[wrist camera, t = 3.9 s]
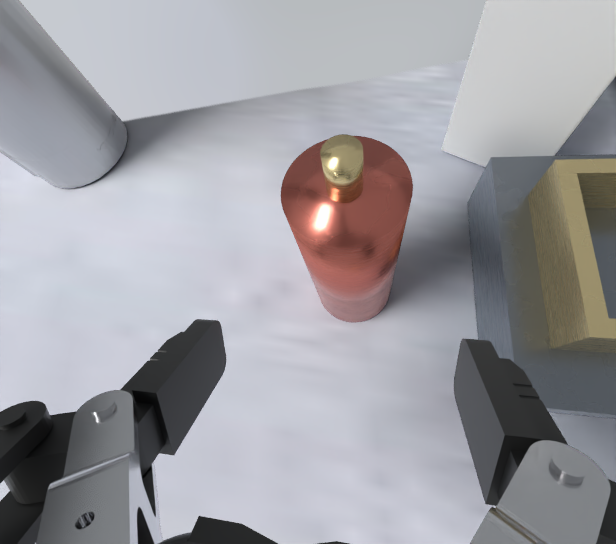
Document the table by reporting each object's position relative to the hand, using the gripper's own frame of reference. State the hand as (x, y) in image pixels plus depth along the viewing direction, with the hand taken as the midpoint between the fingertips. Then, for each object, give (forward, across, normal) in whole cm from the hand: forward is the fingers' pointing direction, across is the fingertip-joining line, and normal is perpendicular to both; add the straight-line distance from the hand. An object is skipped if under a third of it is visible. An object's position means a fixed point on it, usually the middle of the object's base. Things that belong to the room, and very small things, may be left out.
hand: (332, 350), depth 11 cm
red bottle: (+12, 0, +4) cm, 13 cm away
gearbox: (+12, -14, +4) cm, 19 cm away
